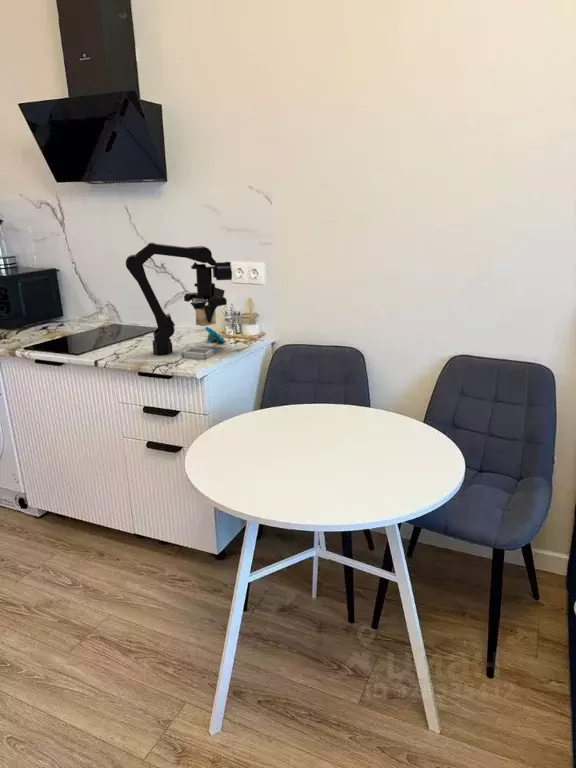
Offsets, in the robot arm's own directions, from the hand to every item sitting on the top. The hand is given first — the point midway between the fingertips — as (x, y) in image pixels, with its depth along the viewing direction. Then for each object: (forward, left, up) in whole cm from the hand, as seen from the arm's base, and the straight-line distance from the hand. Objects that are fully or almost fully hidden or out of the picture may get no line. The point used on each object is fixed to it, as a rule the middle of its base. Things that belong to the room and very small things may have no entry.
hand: (205, 321), depth 212 cm
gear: (+12, +10, -13) cm, 20 cm away
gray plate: (-3, -2, -12) cm, 13 cm away
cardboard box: (0, 0, -1) cm, 1 cm away
